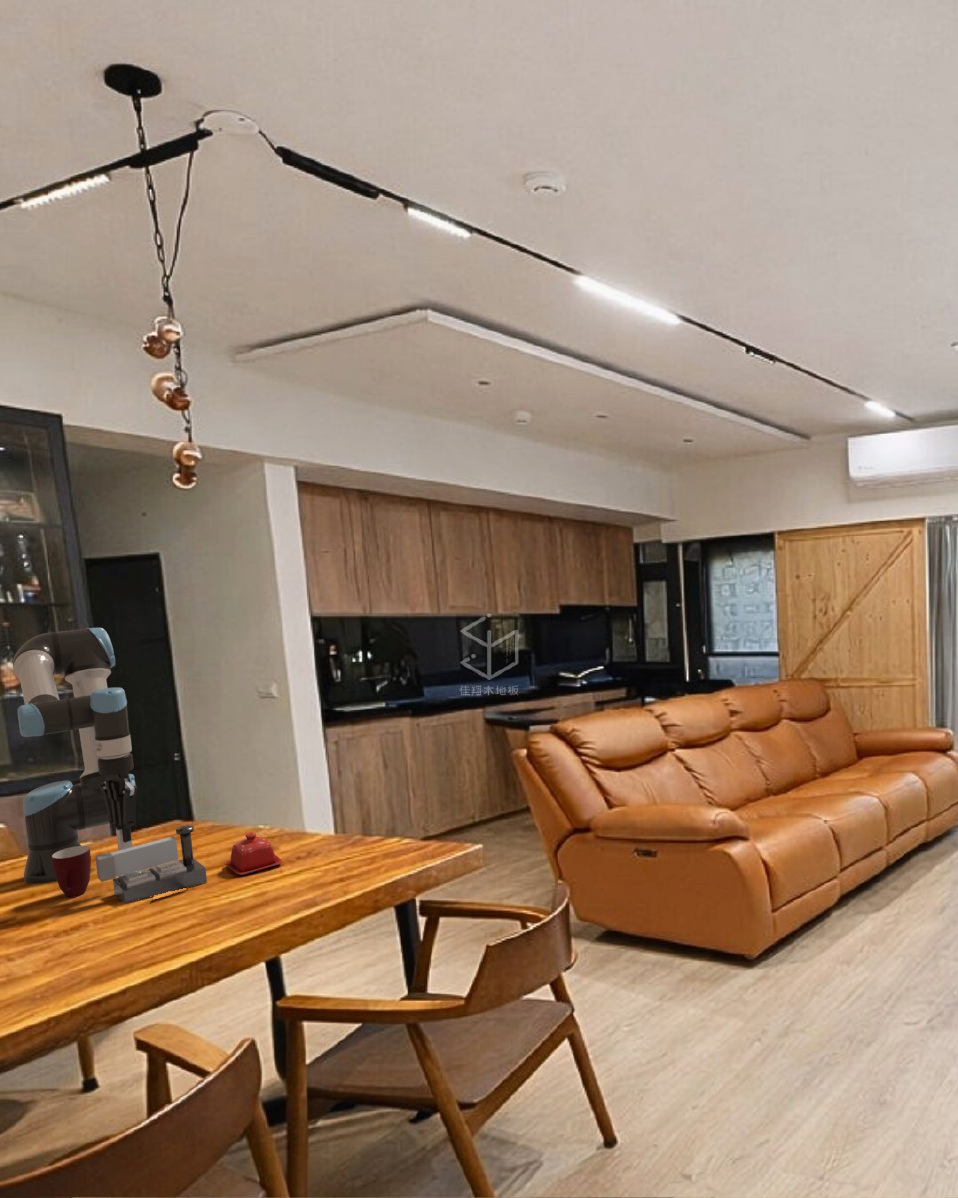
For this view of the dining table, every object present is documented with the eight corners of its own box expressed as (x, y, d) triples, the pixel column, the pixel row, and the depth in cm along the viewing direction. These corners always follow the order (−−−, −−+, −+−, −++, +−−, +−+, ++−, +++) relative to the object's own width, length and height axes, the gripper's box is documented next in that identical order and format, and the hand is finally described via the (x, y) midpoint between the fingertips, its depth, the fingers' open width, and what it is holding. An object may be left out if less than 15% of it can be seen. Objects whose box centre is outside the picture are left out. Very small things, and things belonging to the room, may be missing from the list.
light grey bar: (174, 856, 202) (172, 835, 202) (179, 860, 199) (177, 839, 199) (97, 877, 192) (95, 856, 192) (101, 882, 189) (98, 860, 189)
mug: (88, 902, 194) (82, 858, 194) (49, 908, 193) (44, 864, 192) (98, 884, 205) (93, 843, 204) (61, 890, 203) (56, 849, 202)
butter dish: (285, 866, 207) (282, 832, 206) (239, 880, 200) (235, 845, 200) (268, 854, 216) (264, 821, 216) (223, 868, 210) (219, 833, 209)
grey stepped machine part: (114, 896, 196) (108, 843, 195) (193, 873, 207) (187, 822, 206) (126, 909, 188) (119, 853, 187) (207, 884, 199) (201, 831, 198)
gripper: (85, 756, 200) (96, 855, 202) (113, 761, 192) (125, 864, 193) (115, 749, 206) (126, 845, 207) (144, 753, 198) (155, 853, 199)
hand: (126, 854), depth 200 cm, fingers closed
